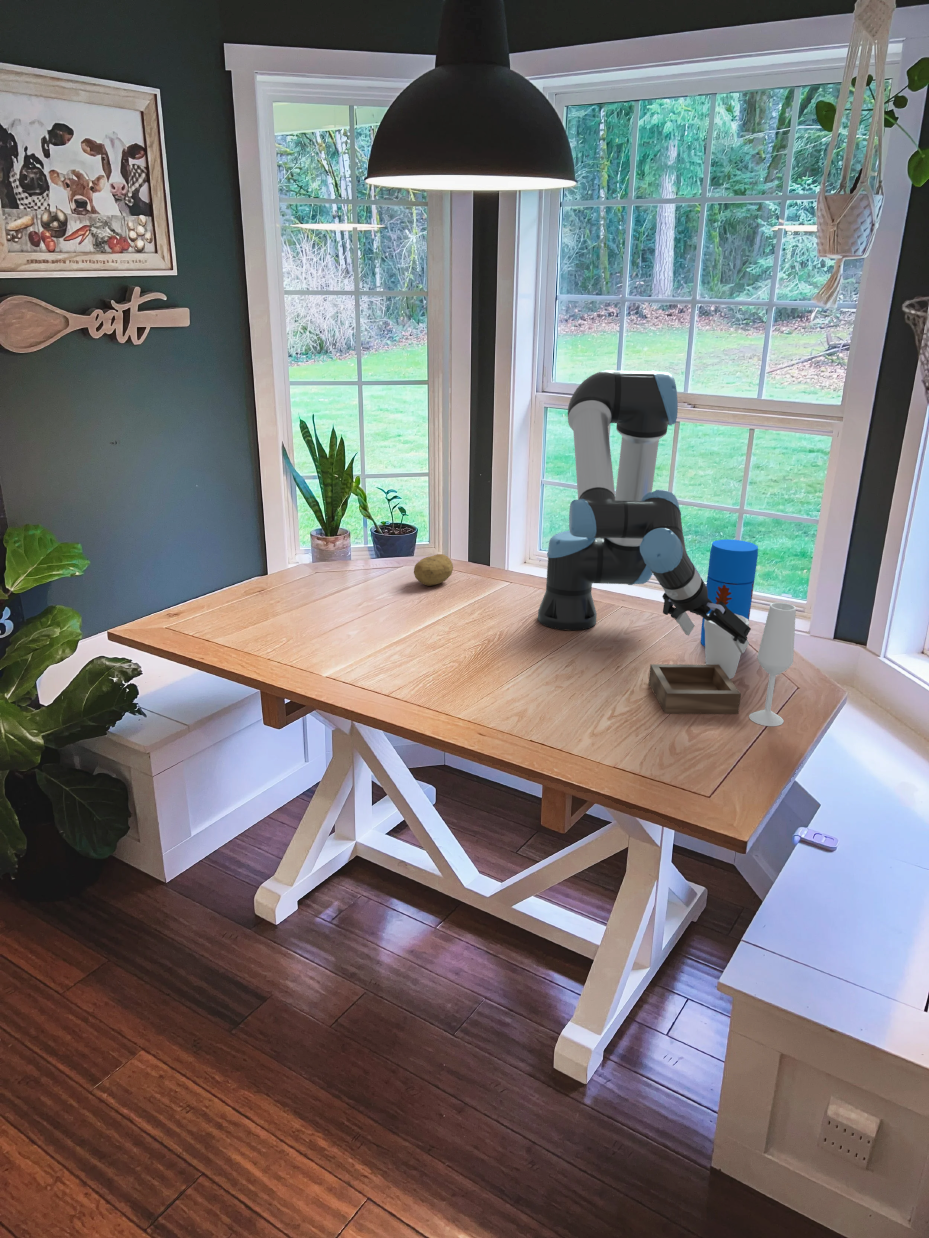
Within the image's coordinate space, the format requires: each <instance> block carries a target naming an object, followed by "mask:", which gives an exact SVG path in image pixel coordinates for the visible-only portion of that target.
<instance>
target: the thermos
mask: <svg viewBox="0 0 929 1238" xmlns="http://www.w3.org/2000/svg"><path fill="white" fill-rule="evenodd" d="M709 552H710V553H709V560H708V568H707V569H708V570H707V578H706V584H705V585H706V587H707V590H708V598H709V599H710V600H711V601H712V602H713V603H714V604H718V603H719V602H720V601H721V602H723V603H724V604H725V605H726V606H727V608H728V609H729V610H730V611H732V612H733V613H734V614H737V615H741V616H743V617H745V618H747V619H748V620H749V621H750V617H751V616H750V614H751V610H752V608H751V607H752V600H753V593H754V586H755V578H756V572H757V565H758V557H759V546H758V545H757V544H755V543H753V542H750V541H746V540H739V539H718V540H714V541H712V543H711V547H710V551H709ZM711 611H712V609H710V611H709V612H708V613H707V614H706V615H708V614H710V612H711ZM704 621H705V619H704V618H703V617H702V620H701V629H700V631H701V632H700V644H701V645H702V646H703V647H705V628H704Z"/></svg>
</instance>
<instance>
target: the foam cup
mask: <svg viewBox="0 0 929 1238" xmlns="http://www.w3.org/2000/svg"><path fill="white" fill-rule="evenodd" d="M735 615H736V616H737V617H738V618H740V619H741V620H742V621H743V622H744V623H745V624H746V625H748V626H749V627H750V619H749V620H748V619H747V618H745V617H743V616H741V615H737V614H735ZM708 616H709V614H708ZM704 628H705V646H704V650H705V656H704V657H705V665H720V667H721V668H722V669H723V671H724V672H725V673H726V675H727V676H728V677H729V679H730V680H731V679H733V678H734V677H735V675H736V673H737V669H738V666H739V662H740V659H741V656H742V653H740V651H739V650H738V648H737V646H736V645H735V643H734V641H733V640H732V638H731V636H732V635H731V634H730V633H728V632H727V631H725V630H724V629H722V628H721V627H720V626H718V625H717V624H715V623H714V622H712V621H711V620H710V621H707V620H706V619H705V621H704Z"/></svg>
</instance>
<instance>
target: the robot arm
mask: <svg viewBox="0 0 929 1238" xmlns="http://www.w3.org/2000/svg"><path fill="white" fill-rule="evenodd" d="M678 403H679V401H678V390H677V385H676V381H675V378H674V376H673V375H672V374H671V373H670V372H665V371H655V370H613V369H612V370H611V369H609V370H602V371H598V372H596V373H594V374H592V375H590V376H589V377H587V378H586V379H584V380H583V381H582V382H581V383H580V384H579V385H578V387H576V389H575V390H574V392H573V393H572V396H571V398H570V400H569V403H568V407H567V423H568V425H569V427H570V429H571V430H572V431H573V444H574V458H575V472H576V473H575V474H576V475H575V476H576V487H577V488H576V491H577V499H573V500H571V502H570V505H569V513H568V523H569V524H568V527H569V529H568V530H565V531H561V532H557V533H555V534H554V535H552V536H551V537H550V539H549V542H548V548H547V549H548V550H547V552H546V556H547V566H546V567H547V568H546V582H545V583H546V587H545V593H544V595H543V597H542V599H541V600H542V601H541V603H540V605H539V607H538V611H537V621H538V622H539V623H540V624H541V625H543V626H545V627H549V628H550V629H556V630H561V631H562V630H563V631H581V630H587V629H590V628H592V627H593V626H595V625H596V624H597V614H598V613H597V611H596V607H595V603H594V599H593V594H592V590H593V589H592V587H593V584H602V585H603V584H607V585H628V586H633V585H643V584H646V583H648V581H650V579H651V578H652V576H654V578H655V579H656V580H657V582H658V583H659V585H660V586H661V588H662V589H663V590H664V593H663V594H662V596H661V597H662V599H663V601H664V603H663V609H662V613H663V615H665V616H666V615H667V616H668V615H670V617H671V618H672V619H674V620H675V621H676V623H677V624H678V625H679V626H680V628H681V630H682V631H683V632H684V634H685V636H688V637H689V636H690V635H691V633H692V631H693V629H694V628H695V627H696V626H695V624H694V622H693V621H692V619H691V618H690V616H689V615H688V613H687V612H690V614H691V613H692V614H695V615H696V616H700V617H701V618H702V619H703V618H704V619H706V620H707V621H710V620H711V621H712V622H714V623H715V624H717V625H718V626H720V627H721V628H722V629H724V630H725V631H727V632H728V633H730V634H731V635H732V636H731V638H732V640H733V641H734V643H735V645H736V646H737V648H738V650H739V651H740V653H741V654H744V653H745V651H746V650H747V648H748V646H749V645H750V641H749V640H748V635H749V633H750V632H751V630H752V628H751V627H750V625H749V626H748V625H746V624H745V623H744V622H743V621H742V620H741V619H740V618H738V617H737V616H736V615H735V614H734V613H733V612H732V611H730V610H729V609H728V608H727V606H726V605H725V604H724V603H723V602H721V601H720V602H719V603H718V604H714V603H713V602H712V601H711V600H710V599H709V598H708V590H707V587H706V585H707V584H706V583H705V581H704V579H703V578H702V577H701V574H700V572H699V571H698V569H697V568H696V566H695V564H694V563H693V561H692V560H691V558H690V556H689V555H688V553H687V550H686V543H685V537H684V532H683V524H682V513H681V509H680V505H679V501H678V498H677V497H676V495H675V494H674V493H673V492H671V491H670V490H666V489H655V490H654V491H653V485H654V479H655V470H656V466H657V459H658V457H657V456H658V451H659V443H660V439H661V438H664V436H666V434H667V432H668V427H669V426H672V425H674V424H676V422H677V420H678V413H679V412H678V409H679V408H678V407H679V406H678V405H679V404H678ZM610 424H616V426H615V427H616V431H617V433H619V435H621V445H620V453H619V458H618V459H619V461H618V469H617V470H618V471H617V478H616V486H615V482H614V474H613V473H614V472H613V462H612V454H611V453H612V452H611V444H610V443H611V442H610V436H609V434H610V433H609V426H610ZM710 609H712V611H711V612H710V614H709V616H708V615H706V614H707V613H708V612H709V611H710Z"/></svg>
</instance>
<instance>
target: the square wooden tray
mask: <svg viewBox="0 0 929 1238" xmlns="http://www.w3.org/2000/svg"><path fill="white" fill-rule="evenodd" d="M649 667H650V668H649V675H648V676H649V677H648V684H649V685H648V686H649V687H650V688H651V690H652V693H654V696H655V697H656V700H657V701H658V704H659V705H660V706H661V709H662V710H663V712H664V714H665V715H668V714H672V715H675V714H677V715H680V714H681V715H682V714H685V715H686V714H687V715H688V714H689V715H691V714H692V715H701V714H702V715H704V714H705V715H709V714H710V715H713V714H714V715H722V714H723V715H731V714H732V715H734V714H735V715H736V714H737V715H738V714H739V712H740V704H741V695H742V694H741V692H740V690H739V689H738V688H737V686H736V685H735V684H734V683H733V681H732V680H731V679H729V677H728V676H727V675H726V673H725V672H724V671H723V669H722V668H721V667H720V665H706V664H689V663H688V664H683V663H682V664H681V663H680V664H675V663H674V664H672V663H671V664H666V663H665V664H664V663H662V664H659V663H657V664H656V663H655V664H654V663H653V664H652V663H651V664H650V666H649Z"/></svg>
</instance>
